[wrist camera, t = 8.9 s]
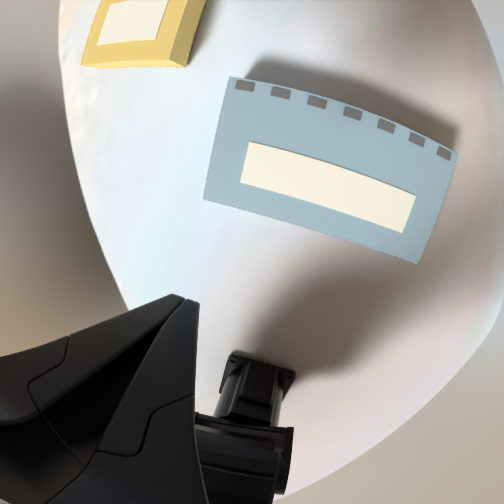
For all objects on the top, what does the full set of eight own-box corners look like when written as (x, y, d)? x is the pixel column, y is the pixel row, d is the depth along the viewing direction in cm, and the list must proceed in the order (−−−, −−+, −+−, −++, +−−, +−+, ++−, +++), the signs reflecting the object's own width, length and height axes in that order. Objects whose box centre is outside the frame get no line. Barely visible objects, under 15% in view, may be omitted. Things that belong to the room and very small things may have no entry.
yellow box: (185, 67, 15) (168, 59, 13) (100, 68, 16) (79, 65, 13) (207, -3, 12) (193, -17, 10) (119, 7, 13) (101, -2, 11)
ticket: (405, 249, 17) (417, 265, 15) (215, 191, 18) (202, 199, 16) (440, 150, 14) (458, 154, 12) (239, 84, 15) (228, 76, 13)
